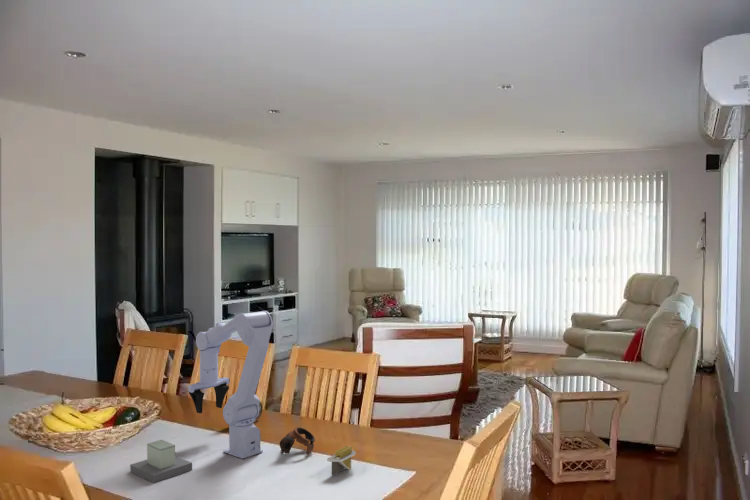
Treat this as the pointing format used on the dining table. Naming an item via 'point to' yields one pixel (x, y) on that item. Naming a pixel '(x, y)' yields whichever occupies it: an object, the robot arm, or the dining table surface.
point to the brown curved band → (295, 434)
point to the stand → (158, 474)
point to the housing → (161, 454)
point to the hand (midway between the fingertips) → (209, 410)
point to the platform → (341, 459)
